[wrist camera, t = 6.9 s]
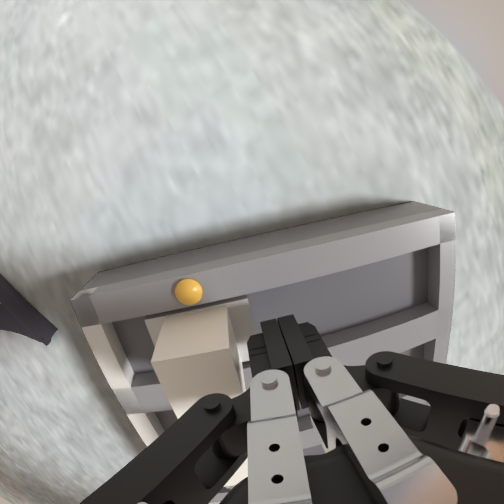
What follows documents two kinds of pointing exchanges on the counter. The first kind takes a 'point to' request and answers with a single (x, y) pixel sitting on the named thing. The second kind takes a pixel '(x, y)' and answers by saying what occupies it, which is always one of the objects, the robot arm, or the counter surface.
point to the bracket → (22, 315)
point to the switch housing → (285, 299)
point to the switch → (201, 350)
